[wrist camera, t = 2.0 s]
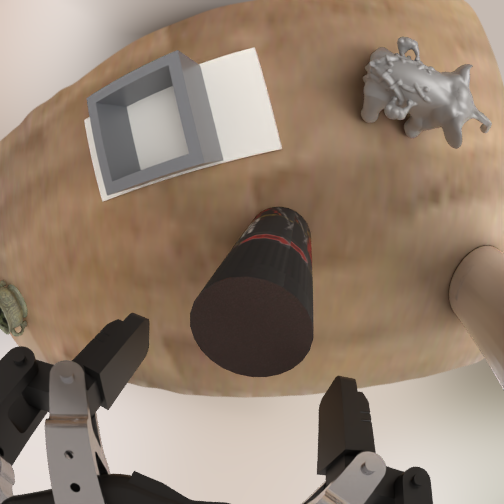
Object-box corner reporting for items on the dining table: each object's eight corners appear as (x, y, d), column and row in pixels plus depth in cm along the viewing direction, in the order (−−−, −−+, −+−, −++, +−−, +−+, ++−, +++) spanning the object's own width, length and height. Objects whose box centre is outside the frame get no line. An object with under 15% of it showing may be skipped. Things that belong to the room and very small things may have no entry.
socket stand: (256, 50, 21) (242, 25, 15) (282, 149, 24) (275, 148, 18) (89, 120, 26) (53, 120, 20) (107, 199, 29) (72, 212, 23)
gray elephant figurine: (350, 51, 19) (359, 18, 13) (460, 64, 16) (497, 46, 9) (361, 143, 23) (378, 142, 16) (471, 151, 20) (513, 157, 13)
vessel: (-1, 280, 41) (-20, 292, 35) (10, 269, 38) (-12, 282, 32) (25, 328, 44) (7, 343, 38) (39, 323, 41) (19, 340, 35)
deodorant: (267, 194, 25) (221, 250, 12) (322, 228, 26) (339, 319, 12) (237, 246, 28) (174, 340, 14) (289, 277, 28) (270, 391, 14)
